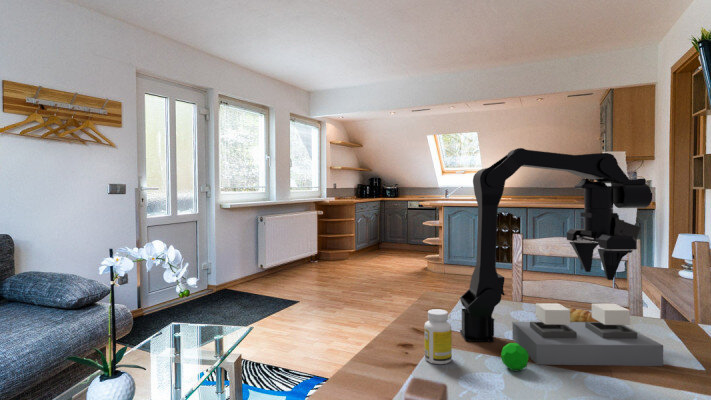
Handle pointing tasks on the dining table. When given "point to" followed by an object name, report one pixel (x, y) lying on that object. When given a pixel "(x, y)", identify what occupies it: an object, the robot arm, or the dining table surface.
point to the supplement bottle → (438, 337)
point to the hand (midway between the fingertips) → (598, 275)
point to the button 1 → (552, 314)
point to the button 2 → (611, 314)
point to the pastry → (581, 316)
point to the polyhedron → (514, 356)
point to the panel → (586, 344)
